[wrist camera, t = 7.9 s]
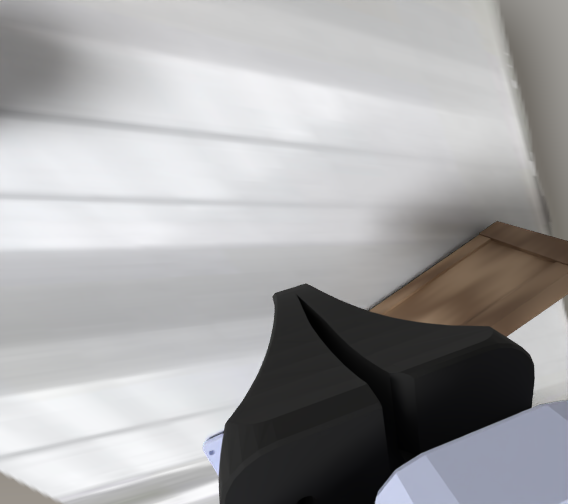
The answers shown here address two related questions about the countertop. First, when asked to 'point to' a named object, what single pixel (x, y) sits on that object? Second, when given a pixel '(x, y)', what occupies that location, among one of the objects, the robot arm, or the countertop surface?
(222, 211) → the countertop surface
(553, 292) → the gate
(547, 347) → the countertop surface
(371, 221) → the countertop surface
